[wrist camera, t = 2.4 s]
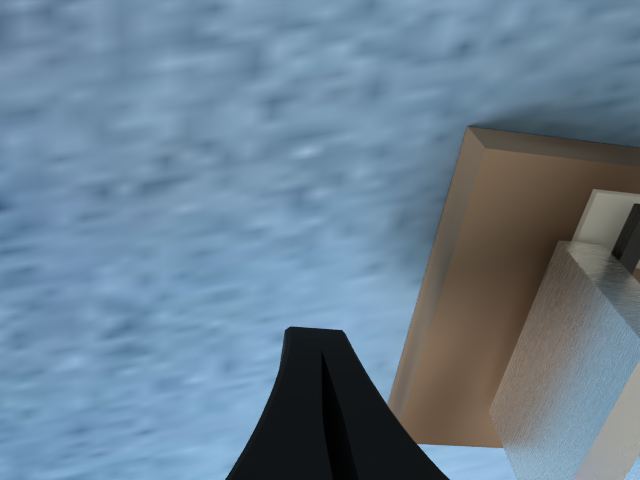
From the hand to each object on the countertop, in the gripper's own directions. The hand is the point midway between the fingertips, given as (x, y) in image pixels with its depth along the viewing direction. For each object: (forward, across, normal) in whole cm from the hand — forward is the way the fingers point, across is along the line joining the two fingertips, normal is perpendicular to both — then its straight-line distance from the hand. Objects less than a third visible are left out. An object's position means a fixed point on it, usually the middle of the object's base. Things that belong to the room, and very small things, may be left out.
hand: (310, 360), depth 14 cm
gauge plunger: (+2, -11, -1) cm, 11 cm away
